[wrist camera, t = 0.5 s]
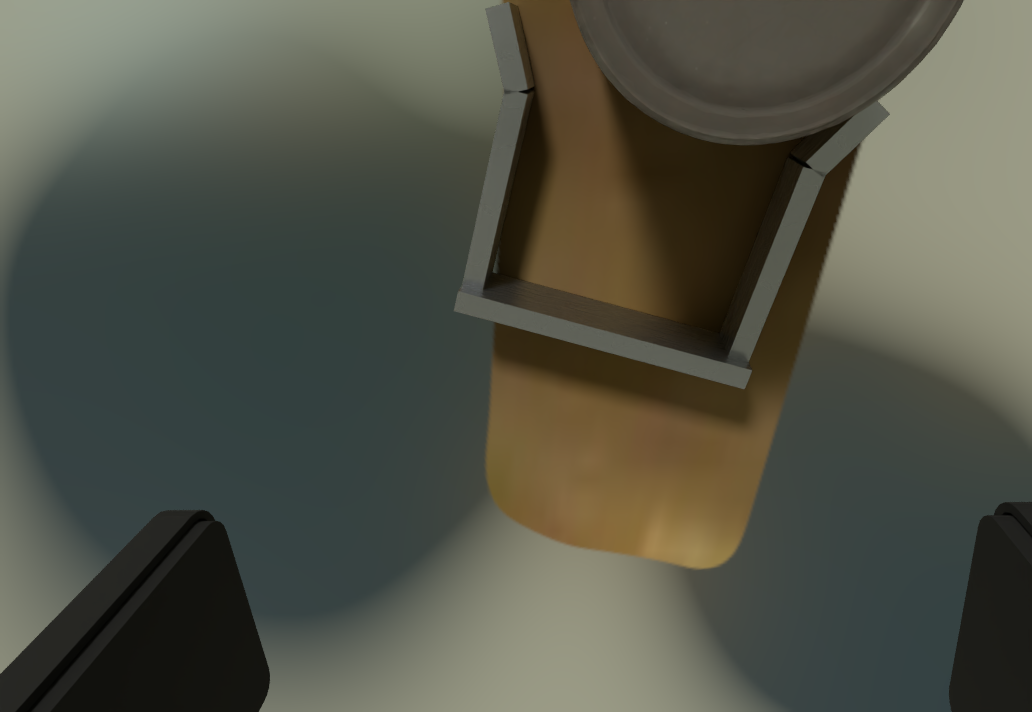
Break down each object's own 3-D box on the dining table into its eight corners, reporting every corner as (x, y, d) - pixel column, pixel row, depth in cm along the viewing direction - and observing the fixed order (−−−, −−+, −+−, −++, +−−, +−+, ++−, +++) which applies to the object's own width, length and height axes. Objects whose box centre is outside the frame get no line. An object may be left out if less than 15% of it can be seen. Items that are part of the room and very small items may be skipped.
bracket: (498, 1, 32) (483, -6, 28) (870, 98, 31) (904, 104, 28) (442, 278, 37) (423, 302, 34) (759, 363, 37) (775, 397, 33)
